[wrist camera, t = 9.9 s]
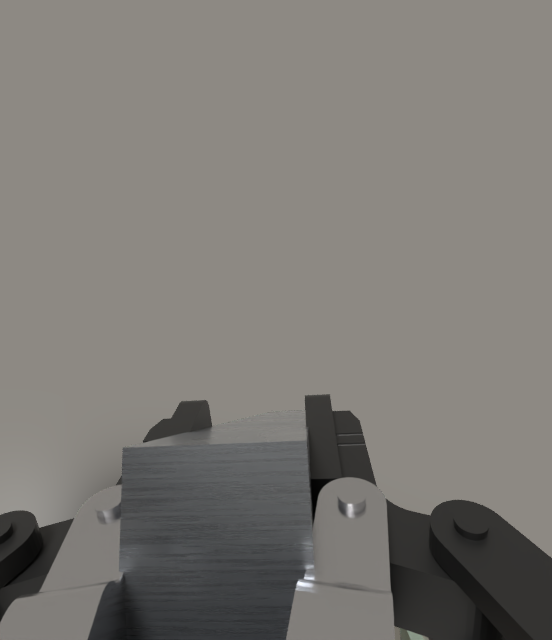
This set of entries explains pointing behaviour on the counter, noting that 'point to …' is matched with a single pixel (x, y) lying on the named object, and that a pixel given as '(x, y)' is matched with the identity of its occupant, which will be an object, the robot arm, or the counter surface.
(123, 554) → the bar
